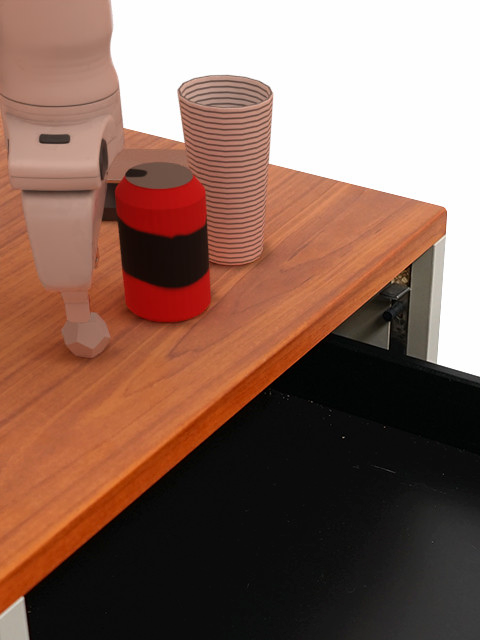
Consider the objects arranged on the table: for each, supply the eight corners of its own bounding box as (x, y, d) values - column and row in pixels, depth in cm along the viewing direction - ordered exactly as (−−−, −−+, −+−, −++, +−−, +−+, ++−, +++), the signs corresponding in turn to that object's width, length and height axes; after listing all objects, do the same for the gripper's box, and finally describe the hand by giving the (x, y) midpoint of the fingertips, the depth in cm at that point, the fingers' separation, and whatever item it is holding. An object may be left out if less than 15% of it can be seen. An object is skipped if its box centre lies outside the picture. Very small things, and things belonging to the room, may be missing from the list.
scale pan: (106, 183, 137) (106, 179, 137) (111, 151, 143) (111, 148, 143) (189, 184, 138) (188, 180, 138) (190, 153, 144) (190, 149, 144)
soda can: (134, 281, 128) (123, 154, 120) (217, 287, 128) (211, 161, 120) (117, 321, 122) (104, 190, 114) (204, 326, 122) (196, 196, 115)
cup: (174, 240, 135) (164, 79, 125) (257, 228, 138) (253, 70, 129) (203, 278, 129) (195, 112, 119) (289, 264, 133) (287, 102, 123)
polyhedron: (101, 365, 116) (97, 331, 114) (57, 359, 116) (52, 325, 114) (118, 343, 119) (114, 309, 117) (75, 337, 119) (71, 303, 117)
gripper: (35, 76, 113) (56, 236, 122) (4, 177, 97) (31, 352, 106) (114, 77, 114) (130, 236, 122) (96, 177, 98) (116, 351, 107)
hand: (84, 291), depth 114 cm, fingers open, 8 cm apart
